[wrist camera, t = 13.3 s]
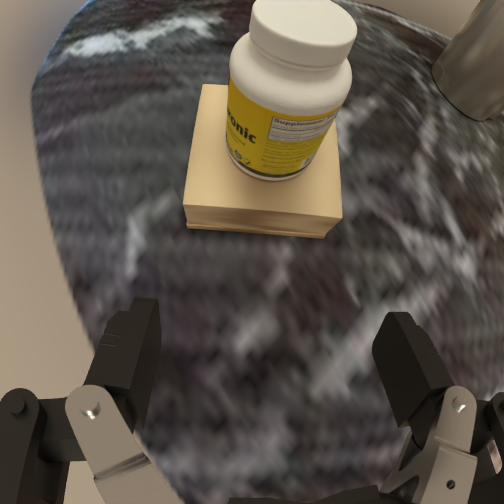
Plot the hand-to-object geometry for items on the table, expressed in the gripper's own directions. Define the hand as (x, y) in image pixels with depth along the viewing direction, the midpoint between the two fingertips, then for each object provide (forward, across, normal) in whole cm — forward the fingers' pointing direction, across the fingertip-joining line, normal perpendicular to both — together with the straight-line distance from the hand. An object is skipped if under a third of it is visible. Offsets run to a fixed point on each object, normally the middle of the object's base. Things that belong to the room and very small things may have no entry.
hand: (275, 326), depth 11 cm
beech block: (+14, 0, -1) cm, 14 cm away
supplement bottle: (+12, 0, -4) cm, 12 cm away
